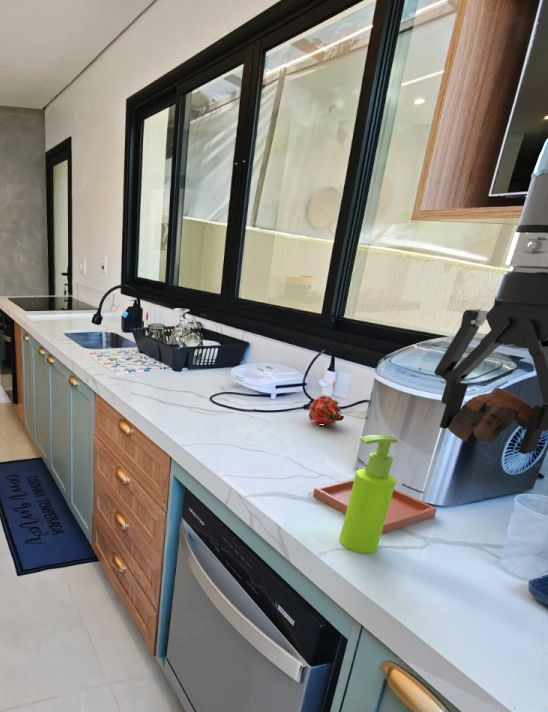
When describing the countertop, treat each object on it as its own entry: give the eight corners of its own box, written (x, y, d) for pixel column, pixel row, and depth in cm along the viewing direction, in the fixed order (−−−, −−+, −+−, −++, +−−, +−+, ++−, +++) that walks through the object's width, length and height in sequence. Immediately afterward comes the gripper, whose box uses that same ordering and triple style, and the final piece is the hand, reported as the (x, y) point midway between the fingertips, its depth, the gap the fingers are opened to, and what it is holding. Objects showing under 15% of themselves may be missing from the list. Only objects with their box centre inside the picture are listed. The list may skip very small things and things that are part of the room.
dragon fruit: (315, 420, 152) (329, 440, 142) (296, 404, 150) (309, 424, 140) (338, 401, 149) (354, 420, 138) (319, 384, 146) (333, 402, 136)
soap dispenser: (327, 535, 90) (352, 430, 82) (363, 533, 90) (391, 429, 83) (345, 554, 84) (374, 443, 77) (384, 552, 85) (416, 443, 77)
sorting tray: (434, 516, 97) (437, 508, 96) (381, 534, 90) (383, 525, 90) (363, 482, 110) (365, 475, 109) (312, 496, 103) (314, 488, 103)
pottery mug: (442, 425, 78) (487, 382, 74) (501, 466, 74) (550, 423, 70) (441, 426, 68) (492, 377, 65) (508, 474, 64) (567, 424, 61)
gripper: (433, 265, 70) (393, 417, 78) (649, 278, 52) (568, 474, 60) (464, 265, 73) (423, 411, 82) (678, 277, 55) (596, 464, 63)
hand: (484, 438), depth 71 cm, fingers closed on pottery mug, 9 cm apart
